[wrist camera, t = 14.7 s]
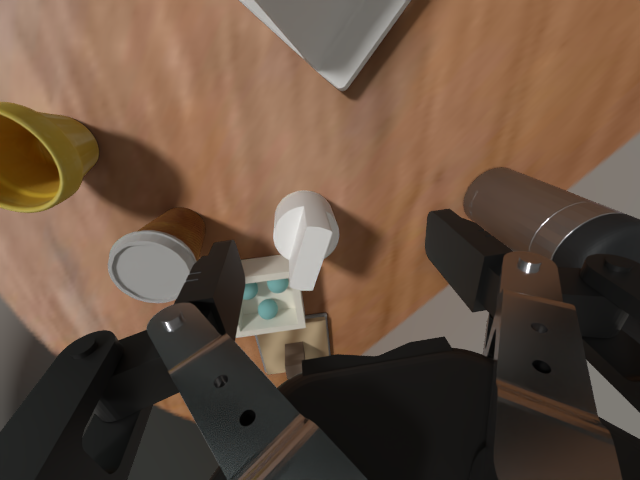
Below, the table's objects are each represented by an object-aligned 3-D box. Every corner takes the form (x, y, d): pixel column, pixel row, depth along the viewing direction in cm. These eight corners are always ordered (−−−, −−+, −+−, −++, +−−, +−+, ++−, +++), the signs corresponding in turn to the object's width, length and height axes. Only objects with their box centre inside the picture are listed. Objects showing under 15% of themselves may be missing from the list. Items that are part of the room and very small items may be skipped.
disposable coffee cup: (226, 213, 42) (206, 257, 32) (204, 262, 46) (180, 315, 35) (159, 185, 39) (112, 222, 29) (141, 239, 43) (94, 290, 32)
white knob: (323, 248, 47) (334, 295, 36) (269, 237, 45) (264, 284, 34) (340, 197, 43) (358, 235, 32) (281, 183, 41) (280, 218, 30)
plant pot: (19, 165, 36) (-63, 191, 28) (18, 80, 32) (-78, 80, 23) (110, 195, 39) (61, 227, 31) (120, 122, 35) (68, 135, 26)
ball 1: (256, 273, 47) (254, 286, 44) (260, 289, 48) (259, 302, 45) (235, 275, 46) (232, 289, 43) (240, 291, 48) (237, 305, 45)
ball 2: (286, 266, 47) (286, 279, 44) (289, 283, 48) (289, 296, 45) (265, 269, 46) (264, 282, 43) (269, 285, 48) (268, 299, 45)
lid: (324, 316, 54) (329, 341, 48) (329, 361, 60) (333, 388, 55) (255, 325, 53) (252, 352, 48) (267, 370, 59) (266, 398, 54)
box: (296, 252, 47) (297, 270, 42) (304, 307, 53) (305, 327, 48) (222, 262, 46) (215, 281, 42) (238, 316, 52) (234, 337, 48)
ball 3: (276, 293, 49) (276, 307, 46) (279, 308, 51) (279, 322, 48) (256, 296, 49) (255, 310, 46) (260, 311, 51) (259, 325, 48)
